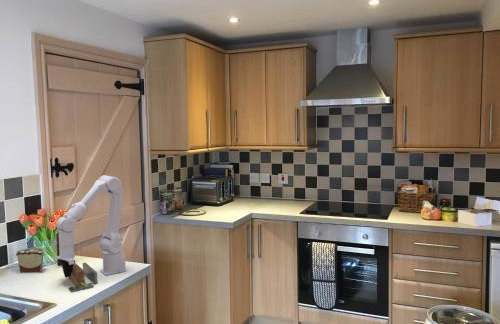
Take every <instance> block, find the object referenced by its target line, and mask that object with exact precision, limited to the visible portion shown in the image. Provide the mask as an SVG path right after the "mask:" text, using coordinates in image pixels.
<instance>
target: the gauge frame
mask: <svg viewBox="0 0 500 324" xmlns="http://www.w3.org/2000/svg"><path fill="white" fill-rule="evenodd" d="M82 269H83V270H84V273H85V277H86V278H87V279H88V280H89V281H90V282H88V283H85V284H84V286H82V285H79V286H76V285H75V286H71V287H68V291H69V292H70V293H71V294H72V293H75V292H78V291H79V292H80V291H84V290H88V289H93V288H94V285H97V284H98V272H97V271H96V270H95V269H94V268H92V266H90V265H89V264H88V263H87V262H82ZM92 283H93V284H92Z"/></svg>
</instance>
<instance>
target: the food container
mask: <svg viewBox="0 0 500 324" xmlns="http://www.w3.org/2000/svg"><path fill="white" fill-rule="evenodd" d="M45 255H46V254H45V250H44V249H43V248H42V247H41V248H40V247H30V248H29V247H28V248H23V249H19V250H17V251H16V253H15V257H16V258H17V263H18V269H19V274H41V273H42V272H43V262H44V256H45Z"/></svg>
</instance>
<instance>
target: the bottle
mask: <svg viewBox="0 0 500 324" xmlns="http://www.w3.org/2000/svg"><path fill="white" fill-rule="evenodd" d="M55 236H56V237H55V239H56V257H57V256H59V231H58V232H56V234H55ZM56 259H57V258H56ZM60 260H62V259H57V260H56V263H57V265H58V266H59V267H62V266H61V264H60V262H59V261H60Z"/></svg>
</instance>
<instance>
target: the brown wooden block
mask: <svg viewBox="0 0 500 324" xmlns="http://www.w3.org/2000/svg"><path fill="white" fill-rule="evenodd" d="M85 277H86V276H85V273H84V270H83V267H81V266H80V265H79V264H78V263H76V262H75V264H74V265H73V268H72V273H71V277H68V279H70V281H71V282H72V283H73V284H74V285H75V286H79V285H82V286H84V284H86V280H85Z"/></svg>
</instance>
